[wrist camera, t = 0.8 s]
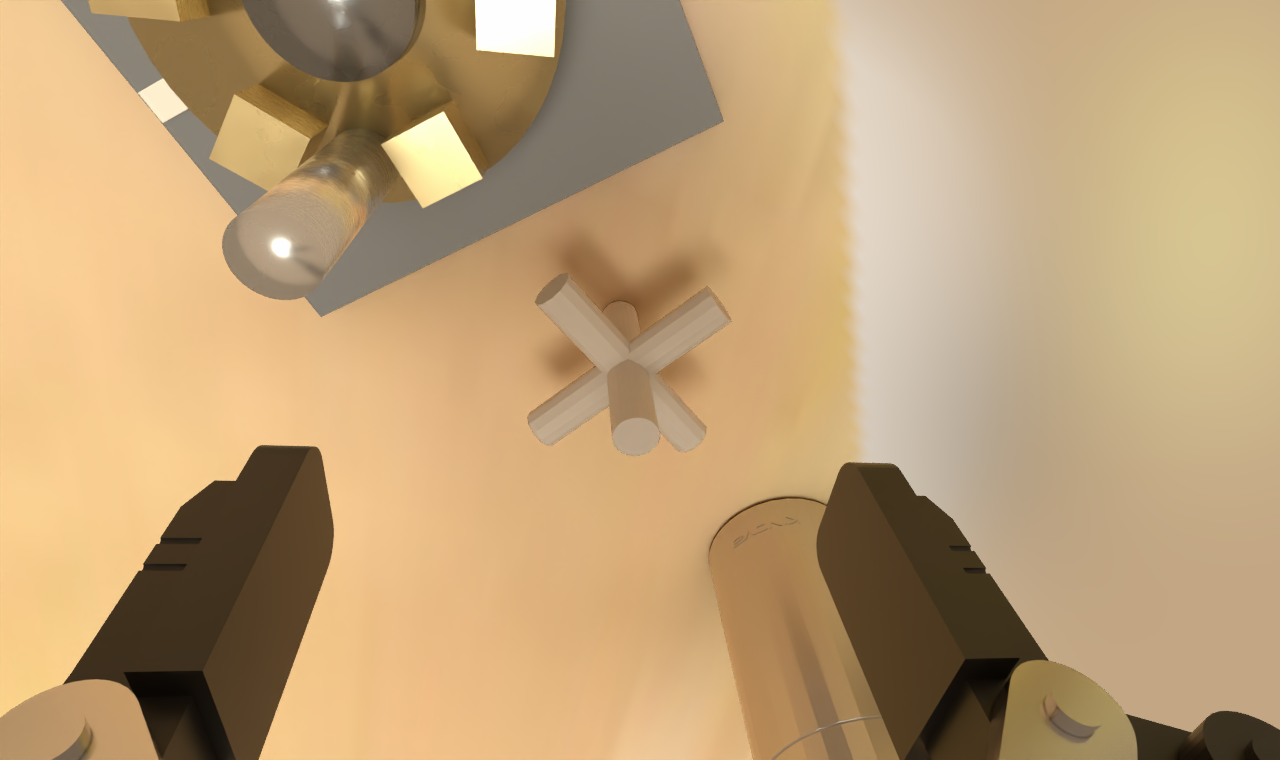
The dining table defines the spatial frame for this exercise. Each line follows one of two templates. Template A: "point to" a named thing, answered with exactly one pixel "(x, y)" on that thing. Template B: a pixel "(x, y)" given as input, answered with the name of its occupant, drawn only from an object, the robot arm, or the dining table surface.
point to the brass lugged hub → (346, 108)
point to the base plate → (529, 173)
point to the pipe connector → (625, 368)
